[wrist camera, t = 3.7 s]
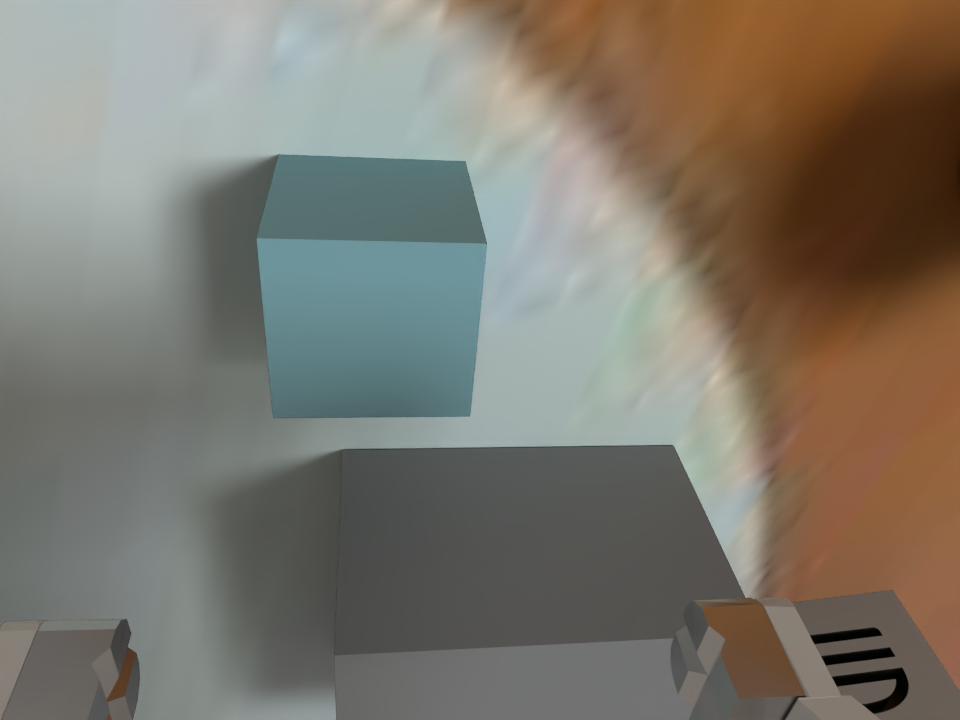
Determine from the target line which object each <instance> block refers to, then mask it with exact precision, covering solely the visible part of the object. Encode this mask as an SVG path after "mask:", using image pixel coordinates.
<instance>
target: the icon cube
mask: <svg viewBox="0 0 960 720" xmlns="http://www.w3.org/2000/svg"><path fill="white" fill-rule="evenodd" d="M791 603H793V605H794V606H795V608H796V610H797V612H798V614H799V616H800V618H801V620H802V622H803V623H804V625H805V627H806V629H807V631H808V633H809V635H810V637H811V639H812V641H813V642H814V644H815V646H816V648H817V650H818V652H819V654H820V656H821V658H822V659H823V661H824V663H825V665H826V667H827V669H828V671H829V673H830V675H831V677H832V678H833V680H834V682H835V684H836V686H837V688H838V690H839V692H840V694H841V695H851V696H852V697H853V698H855V699H856V700H857V701H858V702H860V703H861V704H862V705H863V706H864V707H866V708H867V709H868V710H869V711H871V712H872V713H873V714H874V715H876V716H877V717H878V718H879V719H880V720H960V691H959V689H958V688H957V686H956V685H955V683H954V682H953V680H952V679H951V677H950V676H949V674H948V672H947V671H946V669H945V668H944V666H943V665H942V663H941V662H940V660H939V659H938V657H937V656H936V654H935V653H934V651H933V650H932V648H931V647H930V645H929V644H928V642H927V641H926V639H925V638H924V636H923V635H922V633H921V632H920V630H919V629H918V627H917V626H916V624H915V623H914V621H913V620H912V618H911V617H910V615H909V614H908V612H907V611H906V609H905V608H904V606H903V605H902V603H901V602H900V600H899V599H898V597H897V596H896V594H895V593H894V591H893V590H888V591H880V592H872V593H864V594H856V595H848V596H839V597H831V598H823V599H815V600H807V601H799V602H791Z"/></svg>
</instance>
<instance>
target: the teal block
mask: <svg viewBox="0 0 960 720" xmlns="http://www.w3.org/2000/svg"><path fill="white" fill-rule="evenodd" d="M256 239H257V250H258V260H259V271H260V282H261V293H262V304H263V315H264V326H265V337H266V348H267V359H268V370H269V380H270V391H271V402H272V413H273V418H347V417H466V416H470V412H471V402H472V392H473V382H474V371H475V361H476V351H477V341H478V330H479V320H480V310H481V299H482V289H483V279H484V269H485V258H486V248H487V242H486V238H485V234H484V231H483V227H482V223H481V219H480V215H479V211H478V208H477V204H476V200H475V196H474V192H473V188H472V185H471V181H470V177H469V173H468V169H467V166H466V162H465V161H442V160H415V159H388V158H361V157H334V156H307V155H281V154H279V155H278V159H277V162H276V166H275V170H274V174H273V178H272V181H271V185H270V189H269V193H268V197H267V200H266V204H265V208H264V212H263V215H262V219H261V223H260V227H259V231H258V234H257V238H256Z"/></svg>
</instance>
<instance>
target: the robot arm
mask: <svg viewBox="0 0 960 720" xmlns="http://www.w3.org/2000/svg"><path fill="white" fill-rule="evenodd" d="M683 617H684V620H685V623H686V626H684V627H683V628H682V629H680V630H679V631H677V632H676V633H675V636H674V639H673V641H672V644H671V657H670V665H671V670H672V676H673V680H674V683H675V686H676V690H677V693H678V695H679V696H680V697H681V698H682V699H683V700H684V701H685V702H686V703H687V704H688V705H690V706H691V707H692V708H693V709H692V712H691V715H690V718H689V720H880V719H879V718H878V717H877V716H876V715H874V714H873V713H872V712H871V711H869V710H868V709H867V708H866V707H864V706H863V705H862V704H861V703H860V702H858V701H857V700H856V699H855V698H853V697H852V696H851V695H841V694H840V692H839V690H838V688H837V686H836V684H835V682H834V680H833V678H832V677H831V675H830V673H829V671H828V669H827V667H826V665H825V663H824V661H823V659H822V658H821V656H820V654H819V652H818V650H817V648H816V646H815V644H814V642H813V641H812V639H811V637H810V635H809V633H808V631H807V629H806V627H805V625H804V623H803V622H802V620H801V618H800V616H799V614H798V612H797V610H796V608H795V606H794V605H793V603H791V602H790V601H789V600H788V599H787V598H781V597H779V598H760V599H752V598H736V599H716V600H695V601H692V602H690V603H689V604H687V606H686V609H685V611H684V613H683ZM130 636H131V631H130V628H129V625H128V622H127V619H108V620H49V621H48V620H35V621H5V622H4V623H3V624H2V626H1V627H0V720H133V717H134V712H135V708H136V704H137V699H138V690H139V681H140V674H139V662H138V658H137V654H136V652H134V651H132V650H131V649H129V648H128V643H129V640H130Z"/></svg>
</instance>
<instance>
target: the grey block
mask: <svg viewBox="0 0 960 720" xmlns="http://www.w3.org/2000/svg"><path fill="white" fill-rule="evenodd" d="M736 598H745V596H744V594H743V592H742V590H741V587H740V585H739V583H738V581H737V579H736V577H735V575H734V573H733V571H732V568H731V566H730V564H729V562H728V560H727V558H726V556H725V554H724V551H723V549H722V547H721V545H720V543H719V541H718V539H717V537H716V534H715V532H714V530H713V528H712V526H711V524H710V522H709V520H708V517H707V515H706V513H705V511H704V509H703V507H702V505H701V503H700V501H699V498H698V496H697V494H696V492H695V490H694V488H693V486H692V484H691V481H690V479H689V477H688V475H687V473H686V471H685V469H684V467H683V464H682V462H681V460H680V458H679V456H678V454H677V452H676V450H675V447H674V446H608V447H533V448H457V449H381V450H342V474H341V498H340V522H339V546H338V570H337V594H336V618H335V642H334V671H335V697H336V720H689V718H690V715H691V712H692V709H693V708H692V707H691V706H690V705H688V704H687V703H686V702H685V701H684V700H683V699H682V698H681V697H680V696H679V695H678V693H677V690H676V686H675V683H674V680H673V676H672V670H671V665H670V657H671V644H672V641H673V639H674V636H675V633H676V632H677V631H679V630H680V629H682V628H683V627H684V626H686V623H685V620H684V617H683V613H684V611H685V609H686V606H687V604H689V603H690V602H692V601H695V600H716V599H736Z"/></svg>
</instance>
